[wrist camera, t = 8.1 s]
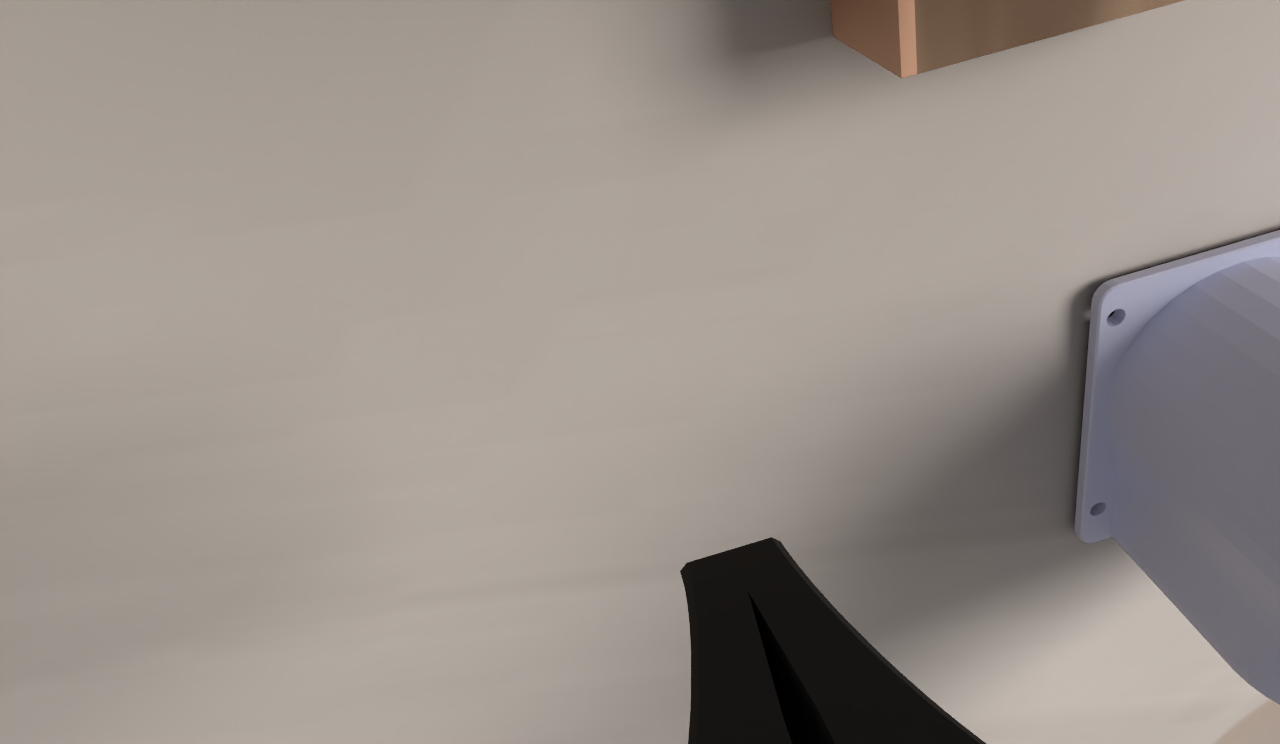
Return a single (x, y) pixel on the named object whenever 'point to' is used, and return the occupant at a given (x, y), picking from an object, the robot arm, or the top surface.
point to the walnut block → (963, 27)
